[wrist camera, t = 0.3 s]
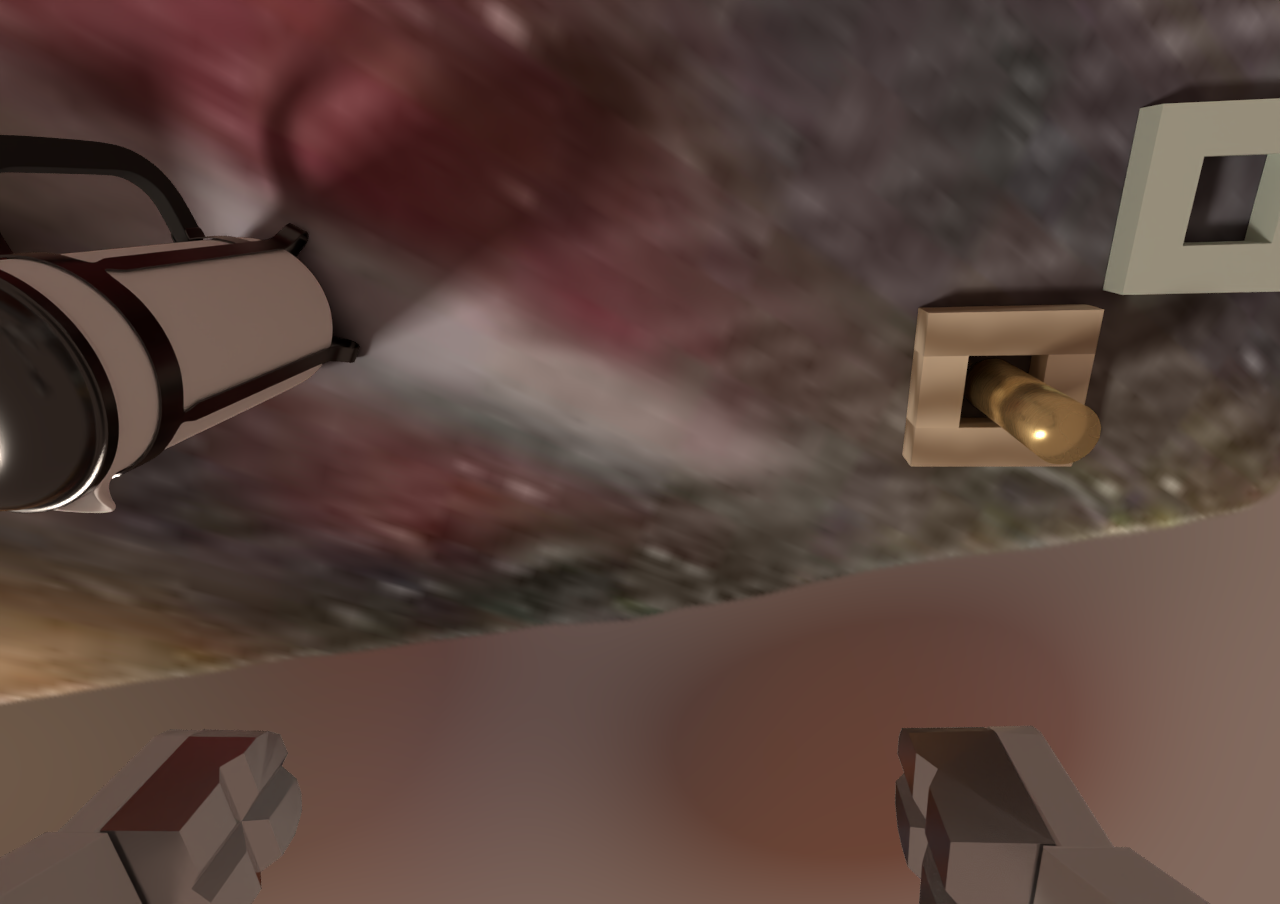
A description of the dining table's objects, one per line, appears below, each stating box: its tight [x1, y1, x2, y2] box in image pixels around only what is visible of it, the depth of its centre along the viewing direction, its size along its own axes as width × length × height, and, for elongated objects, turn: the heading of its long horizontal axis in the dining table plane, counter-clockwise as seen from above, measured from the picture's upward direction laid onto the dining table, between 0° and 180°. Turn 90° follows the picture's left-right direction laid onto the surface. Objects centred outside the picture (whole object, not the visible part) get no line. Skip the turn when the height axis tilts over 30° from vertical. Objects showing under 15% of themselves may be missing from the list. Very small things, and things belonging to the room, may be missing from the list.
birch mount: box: [902, 304, 1104, 466], centre depth 52 cm, size 12×12×2 cm
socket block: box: [1103, 98, 1280, 295], centre depth 46 cm, size 12×12×2 cm
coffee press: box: [0, 135, 360, 513], centre depth 42 cm, size 17×16×30 cm
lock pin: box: [964, 358, 1101, 464], centre depth 47 cm, size 4×4×12 cm
